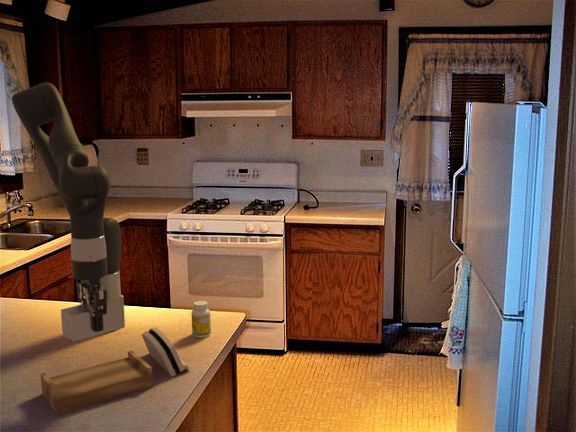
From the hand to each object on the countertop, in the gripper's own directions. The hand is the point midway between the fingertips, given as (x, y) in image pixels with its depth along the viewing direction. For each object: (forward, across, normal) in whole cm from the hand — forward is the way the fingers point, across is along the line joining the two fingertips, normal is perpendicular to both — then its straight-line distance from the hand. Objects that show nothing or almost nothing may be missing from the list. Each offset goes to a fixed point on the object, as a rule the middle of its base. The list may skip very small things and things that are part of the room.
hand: (93, 326), depth 141 cm
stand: (+16, 0, 0) cm, 16 cm away
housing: (+1, 0, 0) cm, 1 cm away
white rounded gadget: (+16, -4, +19) cm, 25 cm away
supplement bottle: (+16, -16, +36) cm, 43 cm away
